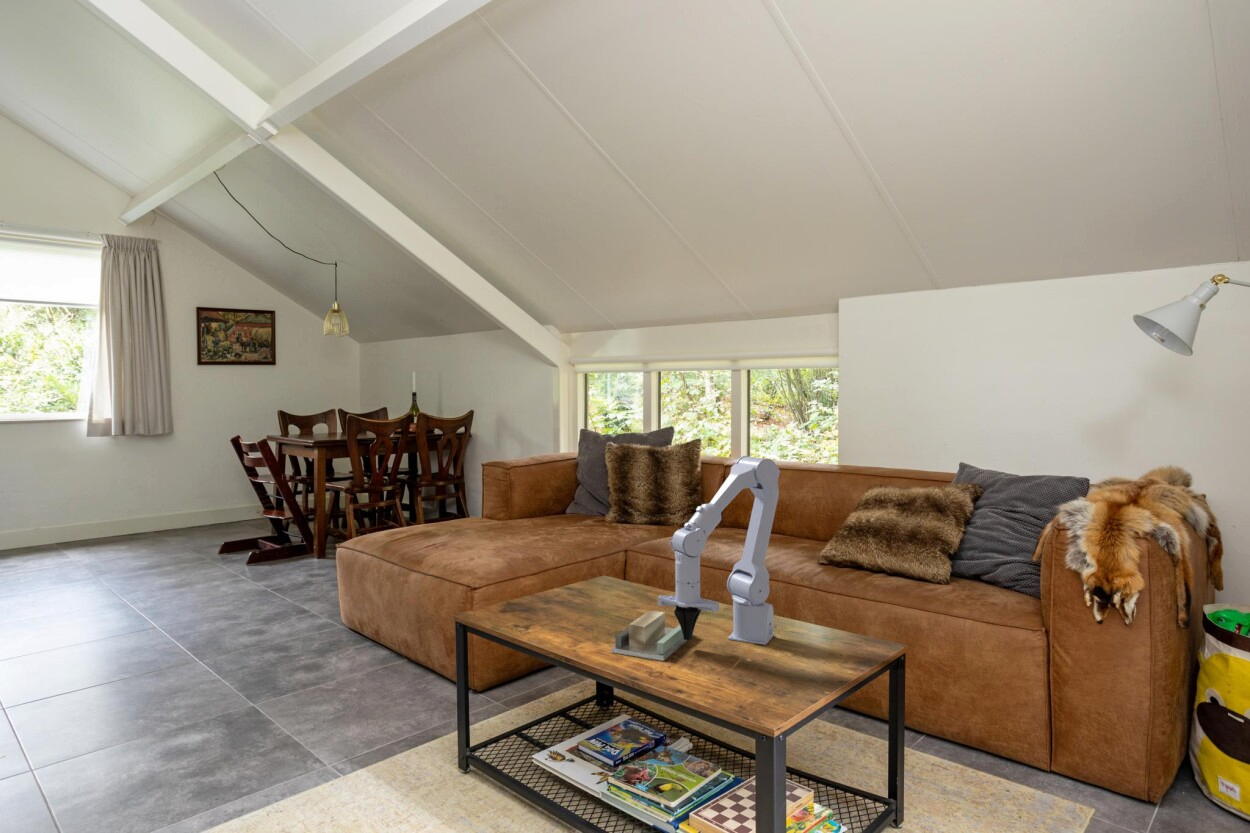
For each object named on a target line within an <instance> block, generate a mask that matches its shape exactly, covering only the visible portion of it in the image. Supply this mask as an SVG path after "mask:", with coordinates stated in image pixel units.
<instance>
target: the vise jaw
mask: <svg viewBox="0 0 1250 833" xmlns="http://www.w3.org/2000/svg"><path fill="white" fill-rule="evenodd" d="M682 638H683V633H682V629H681V626H680V624H679V625H677V626H676V627H675V629H673V630H672V631H671V632H670V633H668V634H667V635H666V636H665V637H663V638H662V639H661V640H659V641H658V642H657V653H658V654H664V653H665V652H667V651H668V650H669V649H670V648H671V647H673V646H674V645H675V644H676V643H677V642H679V641H680V640H681V639H682Z"/></svg>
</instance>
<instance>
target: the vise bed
mask: <svg viewBox="0 0 1250 833" xmlns="http://www.w3.org/2000/svg"><path fill="white" fill-rule="evenodd" d="M675 628H676V627H675ZM675 628H672V627H668V626H667V627H666V626H665V633H664V634H662V635H661V636H660V637H659V638H657V639H656V640H655V641H653V642H652V643H651V644H650V645H648V646H647V647H646V648H641V647H634V646H629V626H628V627H626V628H625V629H623V630H622V631H621V632H619V633H618V634H616V635H615V638H614V640H615V642H614V643H615V645H614V646H612V647H611V653H612V654H618V655H619V654H620V655H624V656H625V655H626V656H631V657H637V658H642V659H649V660H655V661H660V662H661V661H662V662H664V661H665V660H666V659H667V658H669V657H670V656H671V655H672V654H674V653H675V652H676V651H677V650H678V649H679V648H680V647H682V646H683V645H684V644H685V643H687V641H688V640H684V637H683V638H682V639H681V640H680V641H679V642H677V643H676V644H675V645H674V646H673V647H671V648H670V649H669V650H668V651H667V652H665V653H664V654H658V653H657V642H658V641H659V640H661V639H662V638H663V637H665V636H666V635H667V634H668V633H670V632H671V631H672V630H673V629H675ZM694 635H695V634H694V631H693V636H694Z"/></svg>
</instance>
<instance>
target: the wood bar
mask: <svg viewBox="0 0 1250 833" xmlns="http://www.w3.org/2000/svg"><path fill="white" fill-rule="evenodd" d="M628 627H629V646H634V647H641V648H646V647H647V646H648V645H650V644H651V643H652V642H653V641H655V640H656V639H657V638H659V637H660V636H661V635H662V634H664V633H665V627H666V611H658V610H650V609H649V611H647V612H645V613H644V614H642V615H641V616H639V617H637V618H636V619H635V620H634V621H632V622H631V623H629V624H628Z"/></svg>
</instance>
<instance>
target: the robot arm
mask: <svg viewBox="0 0 1250 833" xmlns="http://www.w3.org/2000/svg"><path fill="white" fill-rule="evenodd" d="M780 474H781V470H780V469H779V467H778V465H777V464H776V462H775V461H774V460H773V459H772V458H764V457H763V458H762V457H761V458H760V457H753V456H749V455H742V456H740V457H739V458H737V460H736V462H735V463H734V464H733V465H732V466H731V467H730V472H729V475H728V476H727V477H726V479H725V480H724V482H723V483H722V485H721V486H720V488H719V489H718V491H717V492H716V493H715V495H714V496H713V498H712V499H711V501H710V502H709V503H702V504H701V505H700V506H699V505H698V506H697V507H696V509H695V511H696V512H694V514H693V515H692V516H691V518H690V519H689V520H688V521H687V522H685V523H684V525H683V527H682V528H680V529H677V530H676V531H675V532H674V533H673V535H672V537H671V540H669V544H670V545H669V546H671V547H670V548H671V549H672V550H673V552H674V558H675V559H674V561H675V562H674V564H675V568H674V569H675V571H674V572H675V577H674V578H675V595H662V594H660V595H659V596H657V606H667V607H668V606H669V607H675V609H674V610H673V614H674V615H675V617H676V619H677V621H678V624H679V625H680V626H681V629H682V633H683V637H684V640H687V641H690V640H691V639H693V636H694V635H693V631H694V630H695V626H696V624H697V621H698V618H699V616H700V615H701V613H702V611H707V612H712V613H718V612H719V611H720V602H718V601H715V600H709V599H705V598H702V597H701V554H702V553H703V552H705V549H706V543H707V540H708V537H709V536H710V535H711V533H712V532H713V531H714V530H715V528H716V527H717V526H718V525H719V523H720V522H721V521H722V512H723V511H724V510H725V508H727V506H728V505H729V504H730V503H731V502H732V501H733V499H735V498H736V496H737V495H738V494H739V493H740V492H741V491H742V490H745V489H750V491H751V492H752V495H754V501H753V506H752V510H751V515H750V519H749V524H748V527H747V528H748V529H747V533H746V537H745V542H744V547H743V551H742V556H741V558H740V560H739V561H737V562H736V563H734V565H733V569H732V571H731V573H730V575H729V576H728V578H727V581H726V588H727V591H728V592H729V594H731V599H732V602H733V604H732V606H733V607H732V608H733V609H732V610H733V612H732V616H733V621H732V622H733V623H732V624H733V626H732V628H733V630H732V631H733V632H731V634H730V635H729V636H728V637H727V639H728V640H730V641H735V642H736V641H737V642H744V643H752V644H758V645H767V644H768V643H769V642H770V641H771V639H772V638H773V637H774V636H775V633H774V606H773V604H772V603H769V602H768V603H766V600H767V599H768V597H769V594H770V584H769V583H770V582H769V581H770V577H771V576H770V575H771V574H770V573H769V571H768V569H767V568H766V565H765V561H766V556H767V553H768V547H769V542H770V538H771V532H772V529H773V525H774V524H773V523H774V519H775V514H776V510H777V505H778V500H779V495H780V489H779V478H780Z"/></svg>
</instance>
